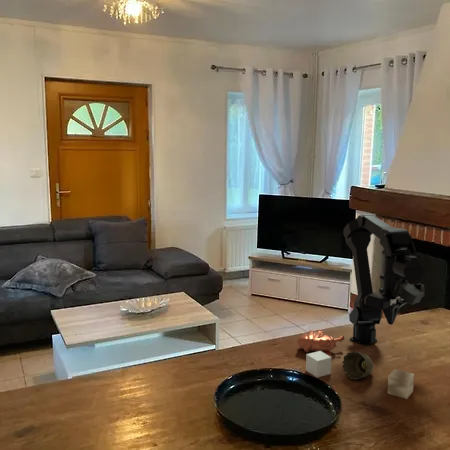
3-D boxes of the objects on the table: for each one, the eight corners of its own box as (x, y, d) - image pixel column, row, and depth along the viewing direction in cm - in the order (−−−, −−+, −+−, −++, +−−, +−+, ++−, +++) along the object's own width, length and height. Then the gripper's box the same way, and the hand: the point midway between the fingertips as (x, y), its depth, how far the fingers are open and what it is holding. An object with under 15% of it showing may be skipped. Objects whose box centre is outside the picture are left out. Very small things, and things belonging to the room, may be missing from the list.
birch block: (387, 393, 130) (388, 375, 129) (393, 386, 134) (394, 368, 133) (406, 399, 127) (408, 381, 126) (412, 391, 131) (414, 373, 130)
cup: (360, 380, 143) (345, 381, 137) (354, 354, 145) (339, 354, 140) (383, 376, 138) (368, 376, 133) (376, 349, 141) (361, 349, 135)
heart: (306, 340, 148) (351, 336, 153) (289, 329, 160) (331, 325, 164) (306, 360, 149) (350, 355, 153) (289, 347, 160) (331, 343, 165)
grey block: (305, 370, 143) (306, 354, 142) (319, 367, 145) (320, 350, 144) (316, 377, 138) (317, 360, 137) (330, 374, 140) (331, 357, 140)
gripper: (399, 284, 131) (396, 340, 134) (437, 273, 143) (433, 325, 145) (364, 275, 140) (362, 328, 143) (403, 265, 151) (399, 314, 154)
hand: (390, 324), depth 146 cm, fingers closed
